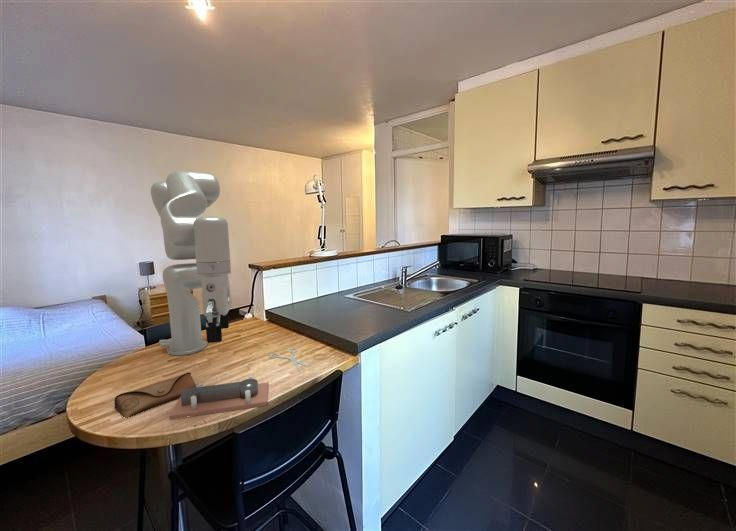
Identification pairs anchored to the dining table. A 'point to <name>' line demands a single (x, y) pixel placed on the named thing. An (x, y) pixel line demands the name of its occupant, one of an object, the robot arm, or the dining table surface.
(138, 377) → the dining table surface
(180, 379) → the sunglasses case
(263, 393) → the peg rack
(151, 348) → the dining table surface
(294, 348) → the scissors
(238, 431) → the dining table surface
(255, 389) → the grey spoon
